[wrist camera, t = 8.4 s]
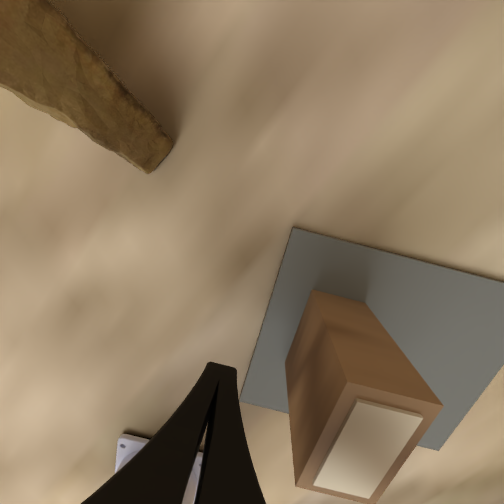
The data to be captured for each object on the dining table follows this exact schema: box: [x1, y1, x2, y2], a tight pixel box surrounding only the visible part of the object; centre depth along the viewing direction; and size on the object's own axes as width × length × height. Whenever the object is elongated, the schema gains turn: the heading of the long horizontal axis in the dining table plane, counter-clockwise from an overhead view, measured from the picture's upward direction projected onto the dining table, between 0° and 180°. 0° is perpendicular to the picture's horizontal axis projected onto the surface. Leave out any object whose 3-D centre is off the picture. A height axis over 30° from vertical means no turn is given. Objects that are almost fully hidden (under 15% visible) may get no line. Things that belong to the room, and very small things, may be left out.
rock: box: [0, 0, 173, 174], centre depth 10 cm, size 11×9×10 cm
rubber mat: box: [239, 227, 504, 451], centre depth 16 cm, size 14×16×1 cm
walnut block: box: [285, 289, 444, 504], centre depth 12 cm, size 6×4×7 cm, turn 166°
